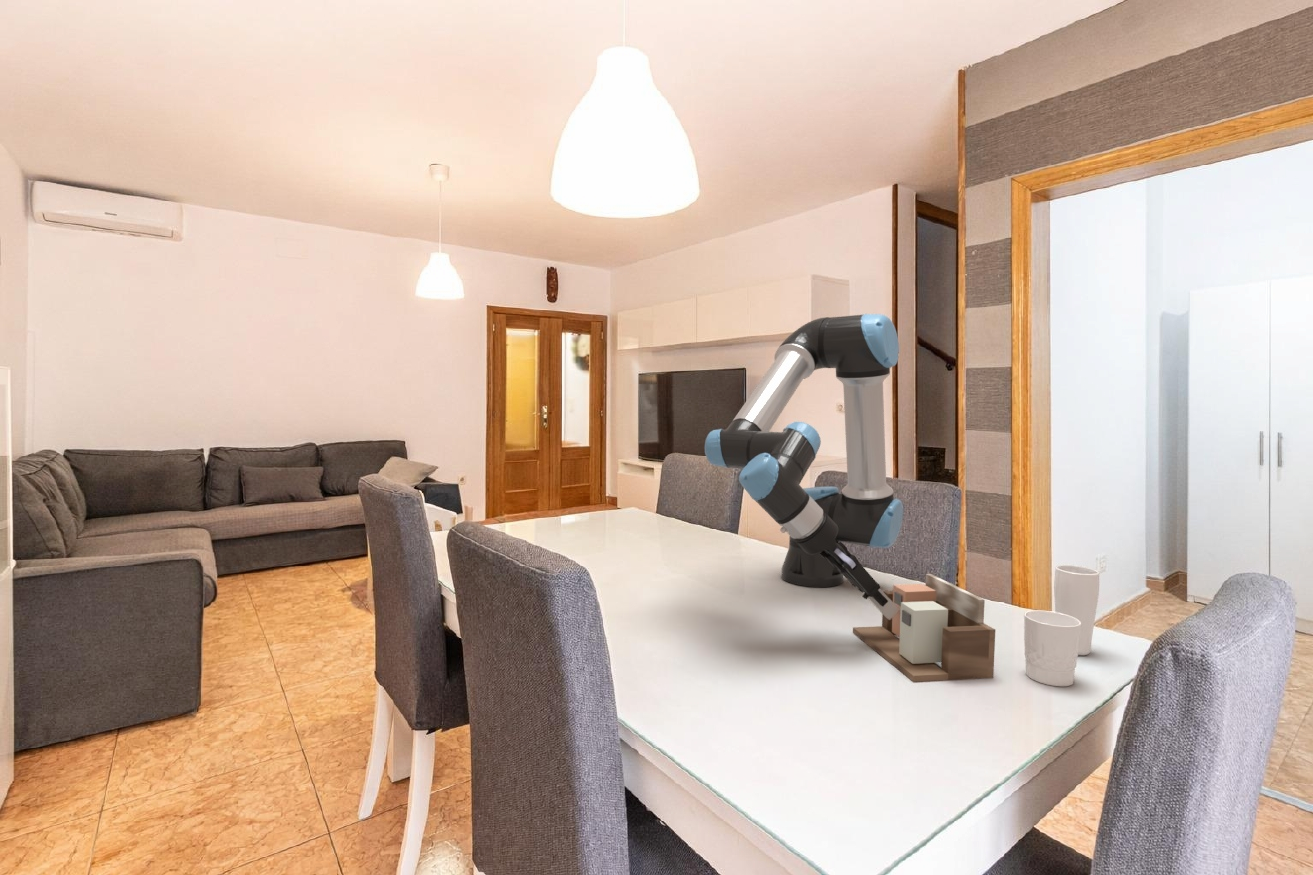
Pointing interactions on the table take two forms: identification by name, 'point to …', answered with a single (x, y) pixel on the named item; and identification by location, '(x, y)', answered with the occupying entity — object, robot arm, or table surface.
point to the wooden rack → (943, 638)
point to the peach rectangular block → (909, 599)
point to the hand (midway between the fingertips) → (892, 613)
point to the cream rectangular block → (922, 631)
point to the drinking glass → (1078, 599)
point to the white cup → (1051, 647)
